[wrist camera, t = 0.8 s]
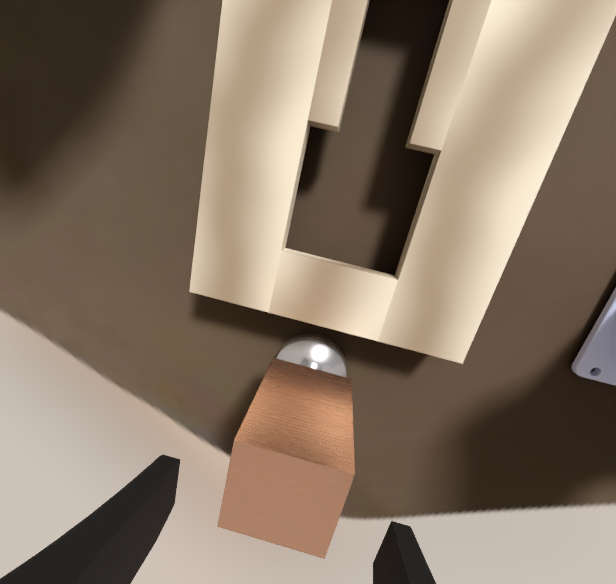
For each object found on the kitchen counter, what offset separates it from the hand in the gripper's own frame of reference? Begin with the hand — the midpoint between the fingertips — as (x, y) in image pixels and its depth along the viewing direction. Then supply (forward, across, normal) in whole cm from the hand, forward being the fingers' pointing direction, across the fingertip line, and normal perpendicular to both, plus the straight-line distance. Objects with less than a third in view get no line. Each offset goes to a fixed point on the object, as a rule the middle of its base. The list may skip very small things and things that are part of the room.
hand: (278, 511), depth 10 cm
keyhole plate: (+10, 0, -14) cm, 17 cm away
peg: (+10, 0, 0) cm, 10 cm away
